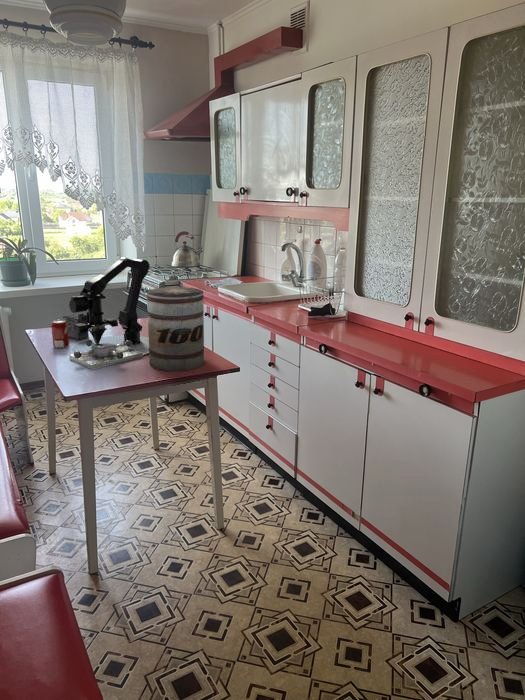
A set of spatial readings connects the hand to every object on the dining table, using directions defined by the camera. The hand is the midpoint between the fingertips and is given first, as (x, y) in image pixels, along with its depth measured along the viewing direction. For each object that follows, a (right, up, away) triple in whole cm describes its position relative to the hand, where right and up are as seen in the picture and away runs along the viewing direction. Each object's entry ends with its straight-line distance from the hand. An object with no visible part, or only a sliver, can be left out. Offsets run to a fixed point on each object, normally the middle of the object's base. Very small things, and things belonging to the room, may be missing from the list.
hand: (97, 344), depth 233 cm
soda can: (-18, -1, +5) cm, 19 cm away
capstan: (+6, -4, -10) cm, 13 cm away
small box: (-16, +3, +21) cm, 27 cm away
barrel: (+37, -8, -12) cm, 40 cm away
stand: (+7, -6, -9) cm, 13 cm away
